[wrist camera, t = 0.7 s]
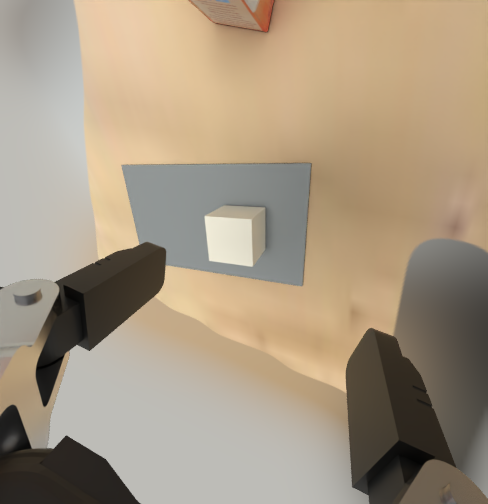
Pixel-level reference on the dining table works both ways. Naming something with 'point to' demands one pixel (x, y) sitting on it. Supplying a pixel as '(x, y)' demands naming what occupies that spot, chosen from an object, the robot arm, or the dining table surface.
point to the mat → (213, 197)
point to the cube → (236, 234)
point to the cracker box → (237, 12)
